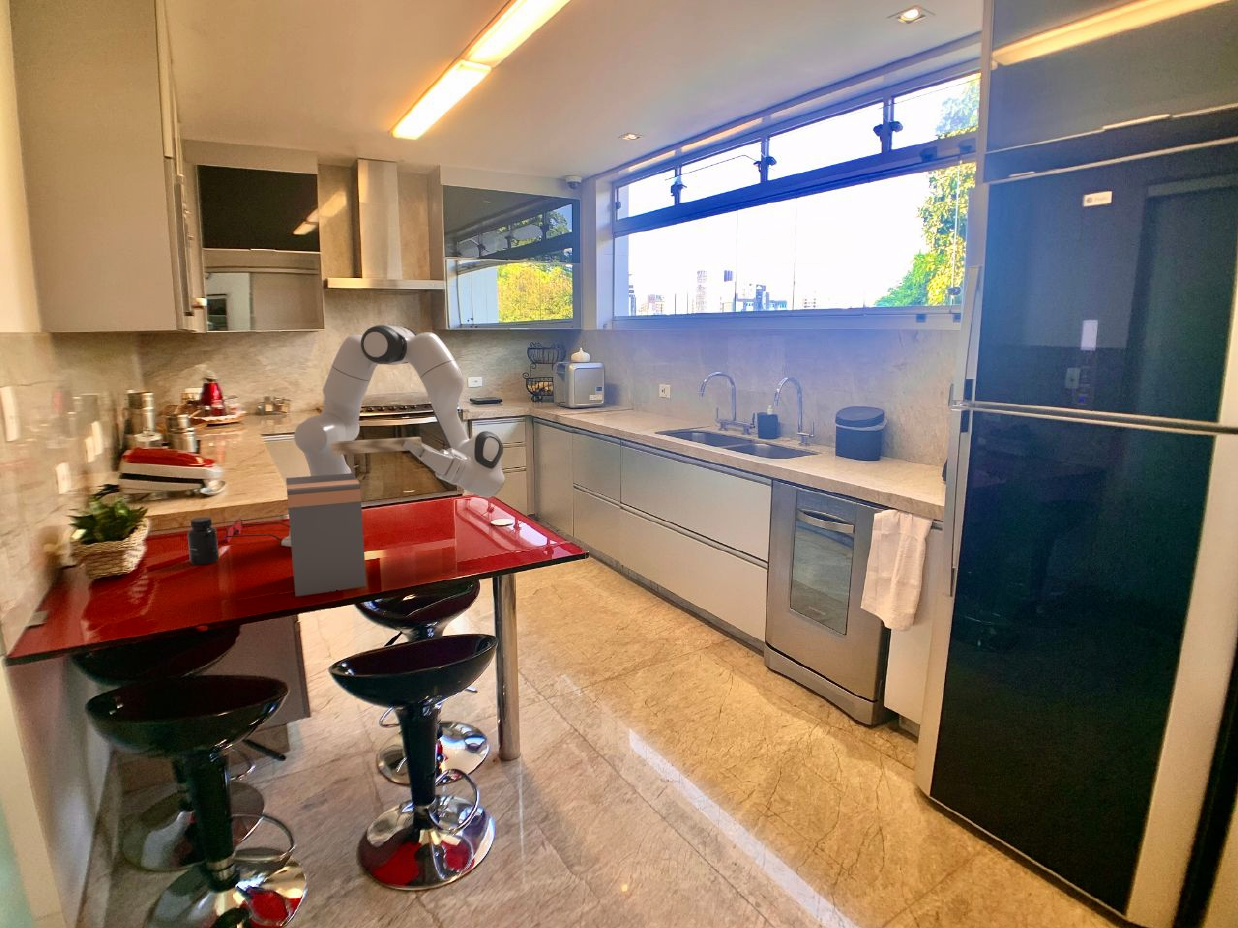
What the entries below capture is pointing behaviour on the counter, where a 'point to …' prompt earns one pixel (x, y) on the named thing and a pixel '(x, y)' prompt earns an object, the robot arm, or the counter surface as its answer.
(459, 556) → the counter surface
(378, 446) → the maple bar
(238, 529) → the glasses
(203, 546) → the supplement bottle
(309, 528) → the stand
